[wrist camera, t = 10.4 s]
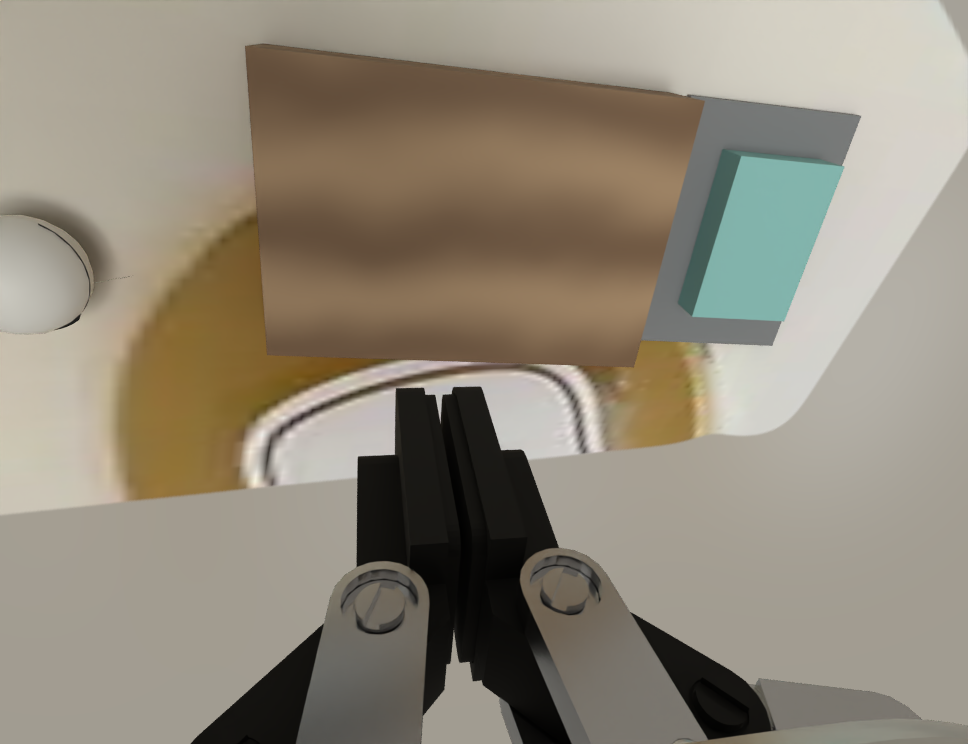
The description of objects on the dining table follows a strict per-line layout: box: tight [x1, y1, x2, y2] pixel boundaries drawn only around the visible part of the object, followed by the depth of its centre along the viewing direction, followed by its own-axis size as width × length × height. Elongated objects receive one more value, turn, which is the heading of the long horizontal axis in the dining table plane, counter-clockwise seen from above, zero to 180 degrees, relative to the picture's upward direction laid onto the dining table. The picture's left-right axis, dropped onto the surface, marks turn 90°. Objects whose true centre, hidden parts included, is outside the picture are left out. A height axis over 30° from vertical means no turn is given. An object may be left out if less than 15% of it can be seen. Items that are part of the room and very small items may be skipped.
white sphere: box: [0, 215, 130, 334], centre depth 28 cm, size 8×6×6 cm
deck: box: [245, 44, 705, 367], centre depth 31 cm, size 14×20×4 cm
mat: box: [641, 95, 861, 346], centre depth 35 cm, size 14×10×1 cm
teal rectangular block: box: [678, 149, 844, 321], centre depth 34 cm, size 9×6×2 cm, turn 173°
